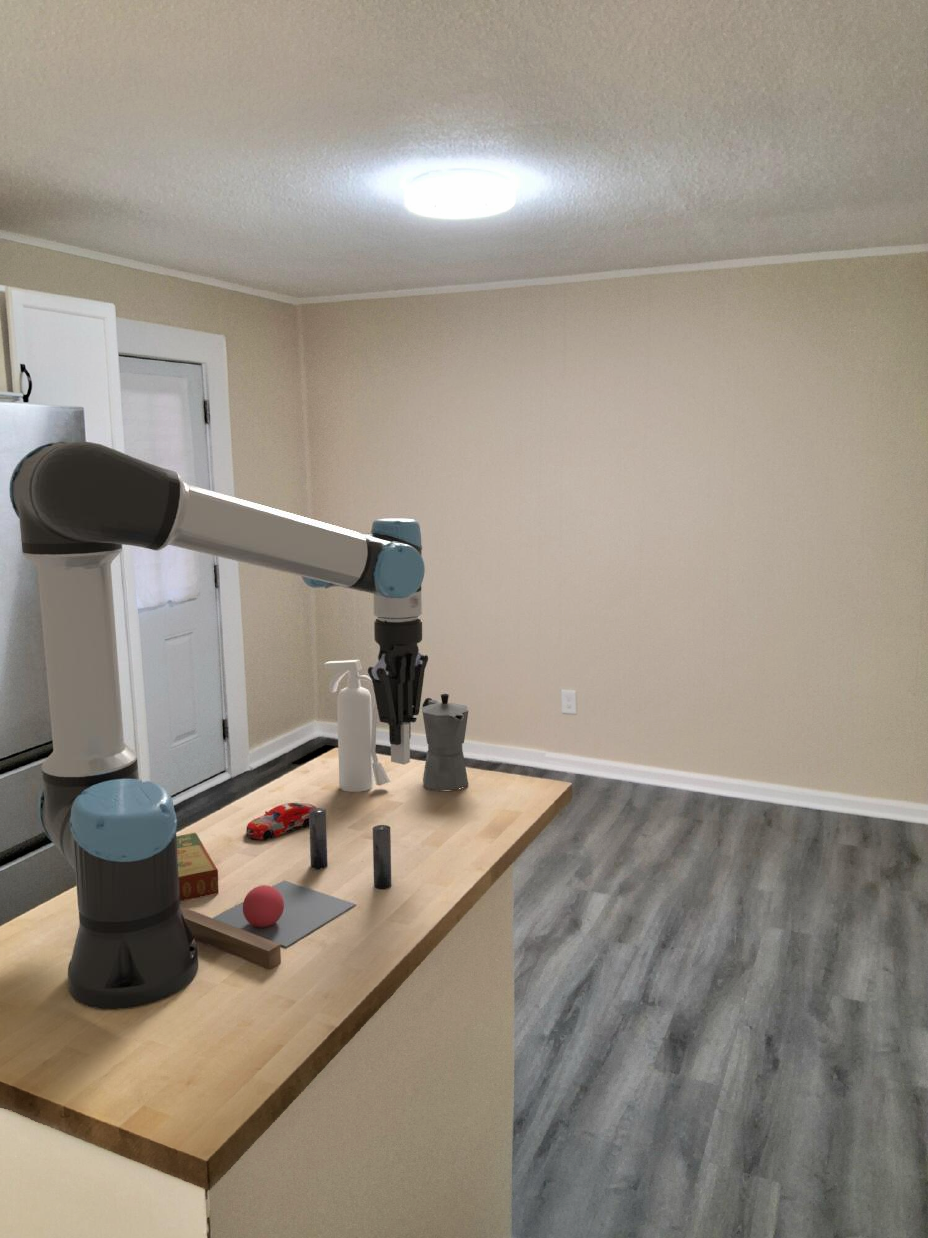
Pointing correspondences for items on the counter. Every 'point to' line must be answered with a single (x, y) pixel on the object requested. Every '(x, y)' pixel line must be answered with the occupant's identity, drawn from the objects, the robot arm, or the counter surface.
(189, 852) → the carton
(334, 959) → the counter surface
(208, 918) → the stopper wall
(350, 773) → the fire extinguisher
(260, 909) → the ball
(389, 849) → the near post
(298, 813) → the race car
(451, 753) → the coffeepot
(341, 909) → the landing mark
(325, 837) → the far post
